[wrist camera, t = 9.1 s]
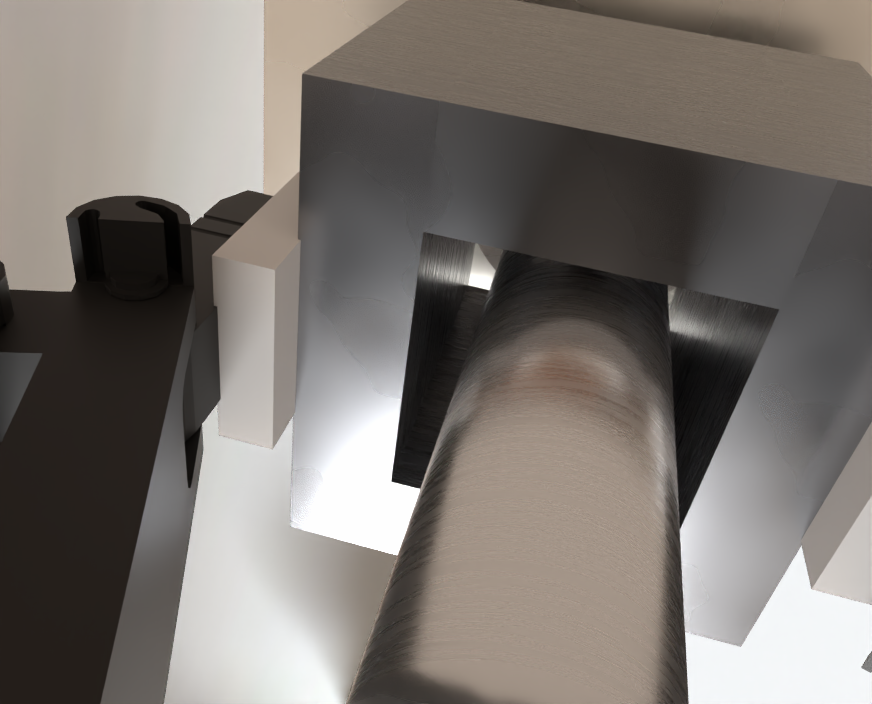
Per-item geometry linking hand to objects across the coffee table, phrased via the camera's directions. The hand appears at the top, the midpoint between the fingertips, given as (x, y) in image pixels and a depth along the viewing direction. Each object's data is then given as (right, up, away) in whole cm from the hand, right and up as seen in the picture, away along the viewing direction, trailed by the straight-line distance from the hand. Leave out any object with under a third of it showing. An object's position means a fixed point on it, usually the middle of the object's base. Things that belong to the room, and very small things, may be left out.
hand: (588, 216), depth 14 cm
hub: (0, 0, 0) cm, 0 cm away
